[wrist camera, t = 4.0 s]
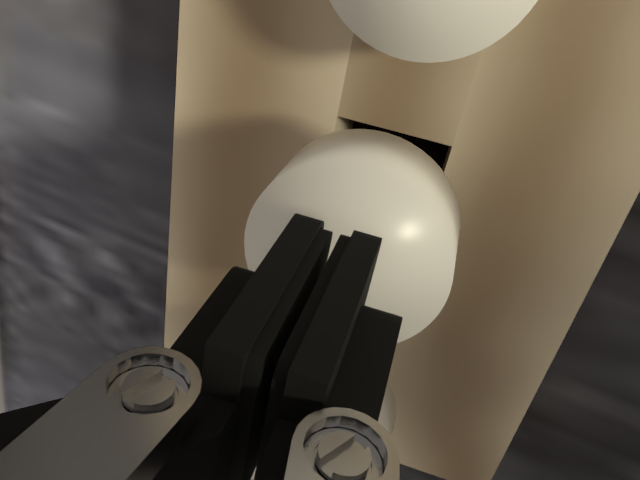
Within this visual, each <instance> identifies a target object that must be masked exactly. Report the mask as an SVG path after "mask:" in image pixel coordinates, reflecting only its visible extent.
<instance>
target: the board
mask: <svg viewBox="0 0 640 480" xmlns="http://www.w3.org/2000/svg"><path fill="white" fill-rule="evenodd" d="M354 121H358V122H361V123H365V124H369V125H373V126H377V127H380V128H384V129H388V130H392V131H396V132H399V133H403V134H407V135H411V136H415V137H418V138H422V139H426V140H430V141H434V142H437V143H441V144H445V145H449V148H448V152H447V155H446V158H445V161H444V165H443V168H442V170H443V172H444V173H445V175H446V176H447V178H448V179H449V181H450V183H451V185H452V187H453V189H454V192H455V195H456V198H457V201H458V205H459V211H460V232H459V240H458V248H457V255H456V262H455V270H454V277H453V283H452V287H451V291H450V294H449V296H448V299H447V301H446V303H445V305H444V307H443V308H442V310H441V311H440V313H439V314H438V316H437V317H436V318H435V319H434V320H433V321H432V322H431V323H430V324H429V325H428V326H427V327H426V328H424V329H423V330H422V331H421V332H419V333H417V334H416V335H414V336H412V337H411V338H409V339H406V340H404V341H402V342H400V343H397V344H396V349H395V353H394V357H393V361H392V365H391V369H390V374H389V378H388V384H389V385H390V387H391V390H392V392H393V395H394V398H395V402H396V418H395V423H394V428H393V432H392V439H393V441H394V442H395V444H396V446H397V450H398V455H399V461H400V464H403V465H405V466H408V467H411V468H414V469H417V470H420V471H423V472H426V473H429V474H431V475H434V476H437V477H440V478H443V479H446V480H491V479H492V477H493V475H494V473H495V471H496V470H497V468H498V466H499V464H500V462H501V460H502V458H503V456H504V454H505V452H506V450H507V448H508V446H509V444H510V442H511V440H512V438H513V437H514V435H515V433H516V431H517V429H518V427H519V425H520V423H521V421H522V419H523V417H524V415H525V413H526V411H527V409H528V407H529V405H530V403H531V402H532V400H533V398H534V396H535V394H536V392H537V390H538V388H539V386H540V384H541V382H542V380H543V378H544V376H545V374H546V372H547V370H548V368H549V367H550V365H551V363H552V361H553V359H554V357H555V355H556V353H557V351H558V349H559V347H560V345H561V343H562V341H563V339H564V337H565V335H566V333H567V332H568V330H569V328H570V326H571V324H572V322H573V320H574V318H575V316H576V314H577V312H578V310H579V308H580V306H581V304H582V302H583V300H584V299H585V297H586V295H587V293H588V291H589V289H590V287H591V285H592V283H593V281H594V279H595V277H596V275H597V273H598V271H599V269H600V267H601V265H602V264H603V262H604V260H605V258H606V256H607V254H608V252H609V250H610V248H611V246H612V244H613V242H614V240H615V238H616V236H617V234H618V232H619V230H620V229H621V227H622V225H623V223H624V221H625V219H626V217H627V215H628V213H629V211H630V209H631V207H632V205H633V203H634V201H635V199H636V197H637V195H638V194H639V192H640V0H538V1H537V2H536V4H535V5H534V6H533V8H532V9H531V11H530V12H529V13H528V14H527V15H526V16H525V17H524V18H523V19H522V21H521V22H520V23H519V24H518V25H517V26H516V27H514V28H513V29H512V30H511V31H510V32H509V33H508V34H506V35H505V36H504V37H502V38H501V39H499V40H498V41H496V42H495V43H494V44H492V45H490V46H489V47H487V48H485V49H483V50H481V51H479V52H477V53H474V54H471V55H469V56H466V57H463V58H460V59H455V60H451V61H447V62H436V63H422V62H412V61H406V60H402V59H398V58H395V57H392V56H389V55H387V54H385V53H383V52H380V51H378V50H376V49H374V48H373V47H371V46H370V45H368V44H367V43H365V42H364V41H362V40H361V39H360V38H359V37H358V36H357V35H355V34H354V33H353V32H352V31H351V30H350V29H349V28H348V27H347V25H346V24H345V23H344V22H343V21H342V20H341V18H340V17H339V15H338V14H337V12H336V11H335V10H334V8H333V6H332V4H331V2H330V1H329V0H180V10H179V32H178V54H177V75H176V97H175V118H174V140H173V162H172V183H171V205H170V227H169V248H168V270H167V291H166V313H165V335H164V347H166V348H169V349H170V348H171V346H172V345H173V344H174V342H175V341H176V340H177V338H178V337H179V336H180V335H181V333H182V332H183V331H184V329H185V328H186V327H187V325H188V324H189V323H190V321H191V320H192V319H193V318H194V316H195V315H196V314H197V312H198V311H199V310H200V308H201V307H202V306H203V304H204V303H205V302H206V300H207V299H208V298H209V297H210V295H211V294H212V293H213V291H214V290H215V289H216V287H217V286H218V285H219V283H220V282H221V281H222V279H223V278H224V277H225V276H226V274H227V273H228V272H229V270H230V269H231V268H232V267H235V266H238V267H241V268H244V269H248V267H247V262H246V258H245V250H244V235H245V228H246V223H247V220H248V217H249V214H250V211H251V209H252V207H253V206H254V204H255V202H256V200H257V199H258V198H259V196H260V195H261V194H262V192H263V191H264V190H265V189H266V188H267V186H268V185H269V184H270V183H271V182H272V181H273V180H274V178H275V177H276V176H277V175H278V174H279V173H280V172H281V170H282V169H283V168H284V167H285V166H286V165H287V164H288V162H289V161H290V160H291V159H292V158H293V157H294V156H295V155H296V154H297V153H298V152H299V151H300V150H301V149H302V148H303V147H305V146H306V145H307V144H309V143H310V142H312V141H314V140H316V139H318V138H320V137H321V136H324V135H327V134H330V133H333V132H337V131H342V130H347V129H352V128H353V123H354Z"/></svg>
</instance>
